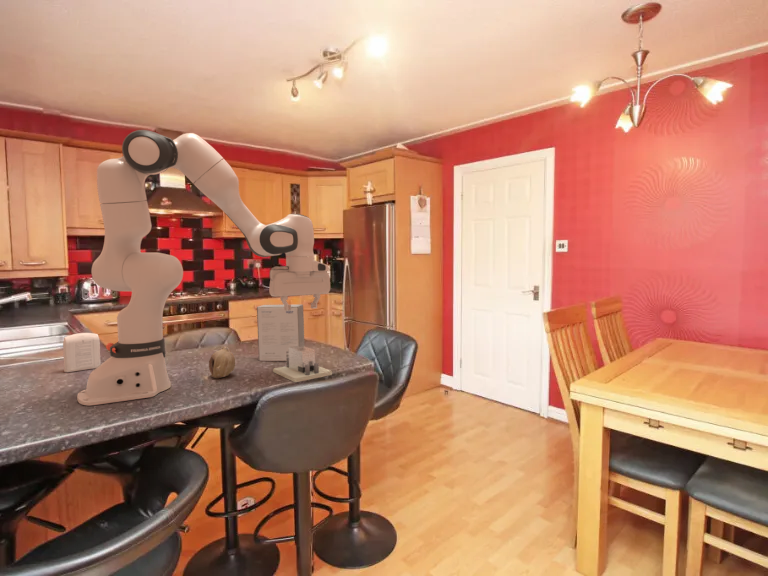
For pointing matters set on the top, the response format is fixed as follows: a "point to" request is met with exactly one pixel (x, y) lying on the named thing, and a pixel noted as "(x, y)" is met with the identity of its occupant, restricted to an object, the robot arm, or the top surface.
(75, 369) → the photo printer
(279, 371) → the pin tray
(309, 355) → the block
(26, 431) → the top surface
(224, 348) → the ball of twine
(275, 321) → the hard drive box
